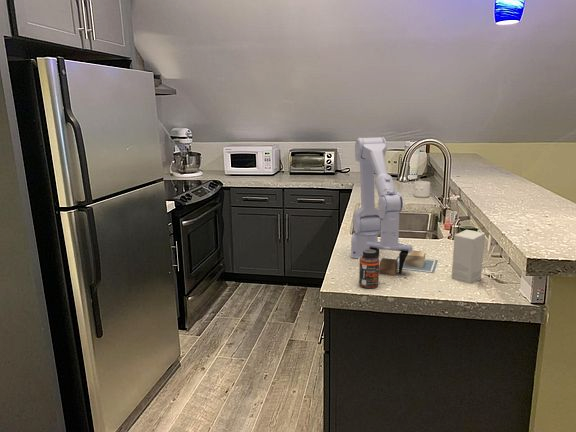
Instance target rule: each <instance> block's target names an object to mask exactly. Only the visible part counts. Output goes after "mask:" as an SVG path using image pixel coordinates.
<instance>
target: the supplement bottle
mask: <svg viewBox="0 0 576 432" xmlns="http://www.w3.org/2000/svg"><path fill="white" fill-rule="evenodd" d="M379 267H380V259H378V257H376V251H375V250H372V249H366V250H363V256H360V257H359V271H358V273H359V276H358V281H359V282H358V284H359V286H360V287H362V288H364V289H375V288H377V287H378V285H379V283H380V282H379V277H380V274H379Z"/></svg>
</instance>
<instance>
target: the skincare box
mask: <svg viewBox="0 0 576 432" xmlns="http://www.w3.org/2000/svg"><path fill="white" fill-rule="evenodd" d="M485 236H486V233H485V232H483V231H482V232H481V231H477V230H470V229H465V230H463V231H460V232H458V233H456V234H454V238H453V239H454V241H453V251H452V266H451V280H455V281H459V282H463V283H466V284H472V283H475V282H479V281H480V280H482V275H483V274H482V271H483V261H484V260H483V259H484V250H485V249H484V248H485V246H484V245H485V239H486V238H485Z"/></svg>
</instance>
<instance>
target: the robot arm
mask: <svg viewBox="0 0 576 432" xmlns="http://www.w3.org/2000/svg"><path fill="white" fill-rule="evenodd" d="M387 144H388V143H387V140H386V138H385V137H384V136H380V137H379V136H378V137H358V138H357V139H356V141H355V144H354V157H355V161H356V162H358V163H359V169H360V170H359V174H360V200H361V203H360V204H361V205H360V206H361V207H359V208H358V209H357V210H356V211H355V212H354V214H353V219H352V220H353V221H352V223H353V231H354V232H353V233H352V235H351V241H350V242H351V245H350V249H351V250H350V259H351V258H352V259H360V258H361V257H362V256H363V250H366V249H372V250H375V251H376V257H378V259H379V258H380V250H382V251H383V250H384V251H385V250H386V251H393V252H394V251H396V252H399V254H398V256H399V269H398V274H402V272H403V270H402V268H403V264H404V262H405V259H406V257H407V255H408V253H412V250H413V247H414V246H413V245H410V244H406V243H400V242H399V234H400V213H401V212H402V210H403V208H404V200H403V197H402V194H400V192H399V190H398V191H397V189H396V186H395V183H394V180H393V177H392V176H391V175H390V174H388V171H387V169H388V168H387V165H386V159H385V156H386V152H387V148H388V145H387ZM375 176H376V178H374V177H375ZM375 187H376V191H377V194H378V198H379V199H378V202H377V204H378V205H377V206H378V208H376V203H375V201H376V200H375ZM379 235H380V236H379ZM379 237H380V239H379V240H380V241H378V238H379ZM379 260H380V259H379Z"/></svg>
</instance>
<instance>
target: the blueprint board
mask: <svg viewBox="0 0 576 432" xmlns="http://www.w3.org/2000/svg"><path fill="white" fill-rule="evenodd" d="M396 259H397V260H398V270H399V255H398V256H396ZM438 261H439V260H438V259H431V258H425V264H424V266H423V268H419V267H410V266H405V262H404V264H403V268H402V271H411V272H419V273H427V274H435V271H436V269H437V264H438Z"/></svg>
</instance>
